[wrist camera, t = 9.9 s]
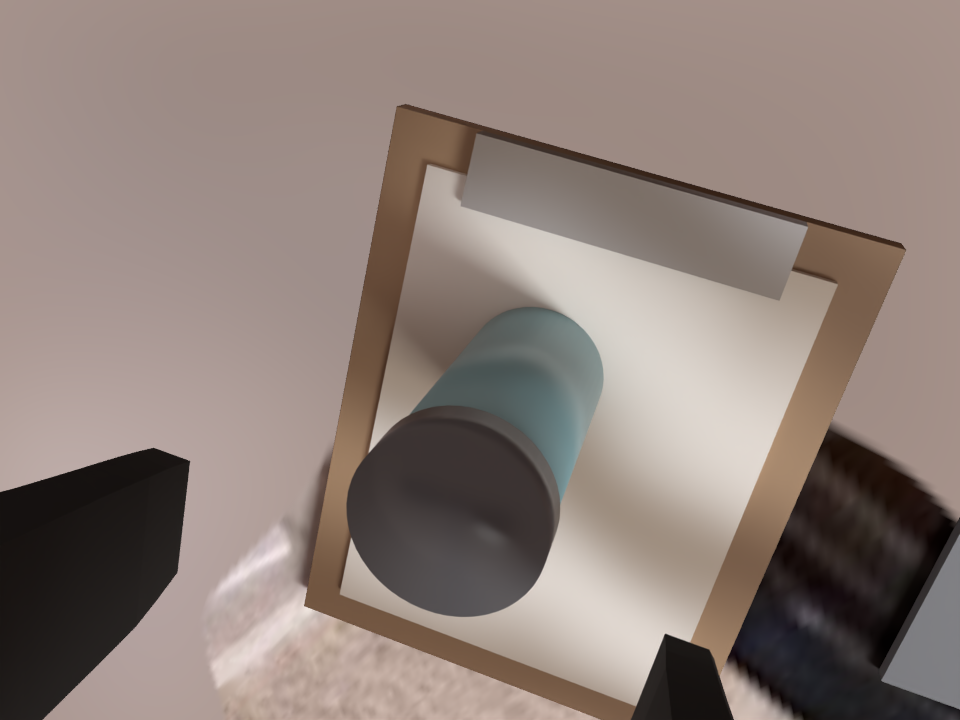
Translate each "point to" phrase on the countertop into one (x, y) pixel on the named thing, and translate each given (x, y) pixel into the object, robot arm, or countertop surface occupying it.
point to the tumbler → (479, 468)
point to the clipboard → (604, 392)
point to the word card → (931, 634)
